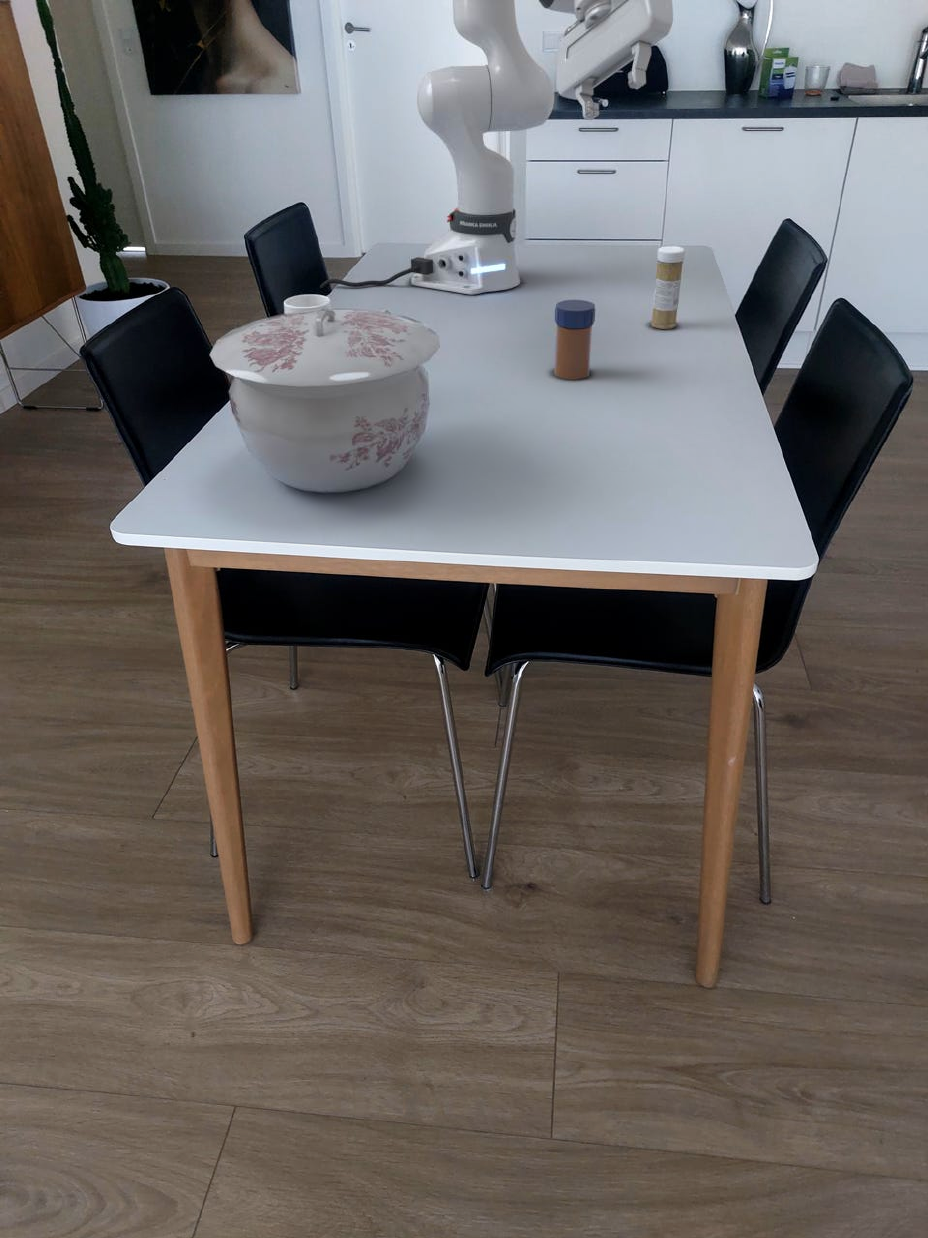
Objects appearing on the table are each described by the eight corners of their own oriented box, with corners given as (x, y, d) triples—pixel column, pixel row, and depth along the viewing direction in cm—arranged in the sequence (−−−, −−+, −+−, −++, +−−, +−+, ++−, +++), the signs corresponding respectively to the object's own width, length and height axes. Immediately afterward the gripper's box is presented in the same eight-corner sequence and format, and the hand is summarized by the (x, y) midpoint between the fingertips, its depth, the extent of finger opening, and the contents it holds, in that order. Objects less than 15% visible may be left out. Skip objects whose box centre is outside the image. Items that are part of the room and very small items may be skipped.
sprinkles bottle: (661, 320, 174) (670, 243, 166) (681, 326, 171) (690, 248, 163) (645, 325, 172) (652, 247, 164) (664, 331, 169) (673, 252, 161)
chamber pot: (269, 540, 108) (243, 362, 96) (206, 452, 128) (178, 296, 117) (485, 487, 118) (485, 321, 107) (395, 413, 139) (387, 266, 127)
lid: (550, 326, 146) (551, 308, 144) (561, 315, 150) (562, 298, 149) (588, 330, 144) (589, 312, 142) (598, 318, 148) (599, 301, 147)
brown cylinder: (550, 377, 150) (553, 311, 144) (559, 366, 155) (562, 301, 149) (584, 381, 149) (588, 314, 143) (592, 370, 153) (597, 304, 147)
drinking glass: (347, 396, 145) (339, 296, 136) (327, 412, 139) (317, 309, 131) (307, 391, 146) (296, 292, 138) (286, 407, 141) (274, 305, 133)
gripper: (542, 30, 135) (548, 130, 135) (640, -55, 117) (647, 60, 118) (577, 40, 138) (583, 138, 139) (678, -41, 120) (684, 71, 121)
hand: (613, 102), depth 128 cm, fingers open, 8 cm apart
